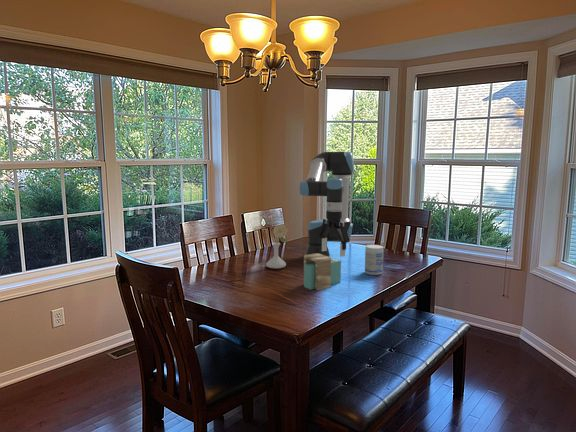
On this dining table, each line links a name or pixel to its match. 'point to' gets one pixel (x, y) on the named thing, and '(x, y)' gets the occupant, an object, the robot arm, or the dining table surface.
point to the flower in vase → (276, 260)
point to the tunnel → (320, 269)
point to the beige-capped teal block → (311, 272)
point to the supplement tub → (374, 259)
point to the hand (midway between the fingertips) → (333, 253)
